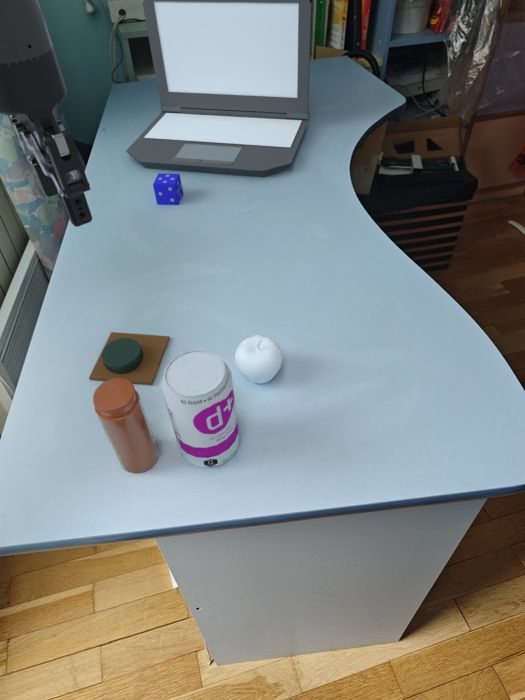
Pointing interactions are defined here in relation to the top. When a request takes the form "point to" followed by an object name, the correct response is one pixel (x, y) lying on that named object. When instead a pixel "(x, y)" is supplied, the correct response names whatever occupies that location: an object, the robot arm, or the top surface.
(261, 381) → the plain white apple
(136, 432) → the jar
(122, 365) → the lid
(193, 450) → the supplement can
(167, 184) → the die
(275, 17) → the laptop
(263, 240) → the top surface
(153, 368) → the coaster
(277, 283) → the top surface
